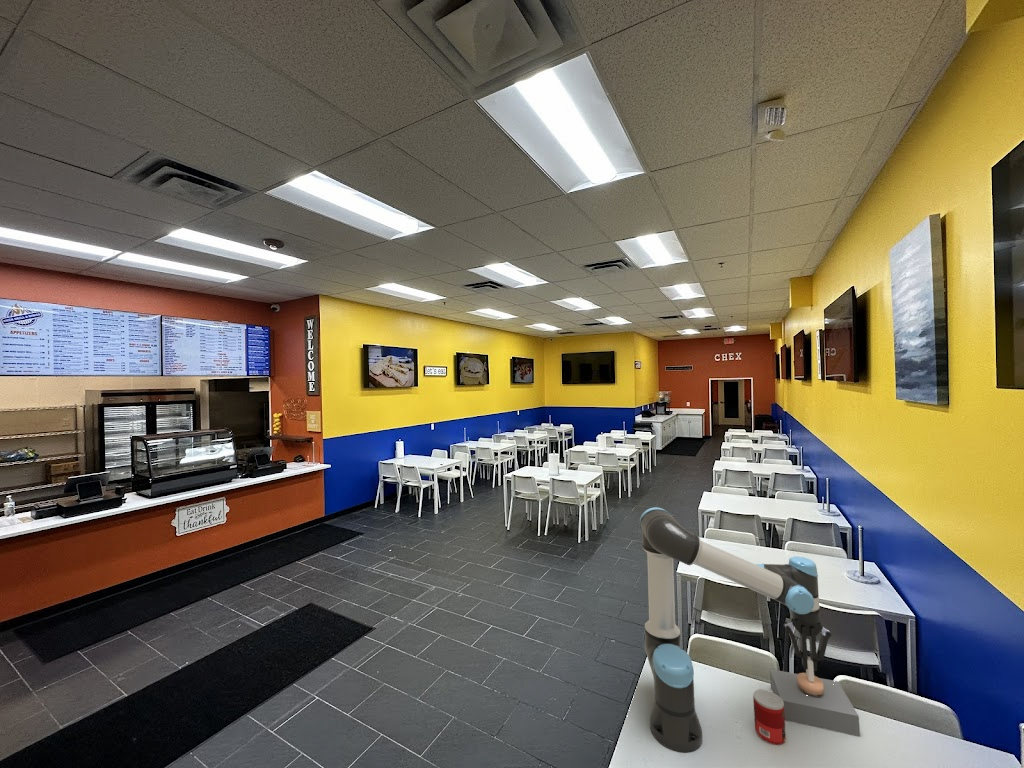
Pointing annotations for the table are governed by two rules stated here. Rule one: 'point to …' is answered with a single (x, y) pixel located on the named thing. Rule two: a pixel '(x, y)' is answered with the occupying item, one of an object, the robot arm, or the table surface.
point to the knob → (810, 685)
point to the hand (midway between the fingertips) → (810, 679)
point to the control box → (816, 704)
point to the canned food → (769, 716)
